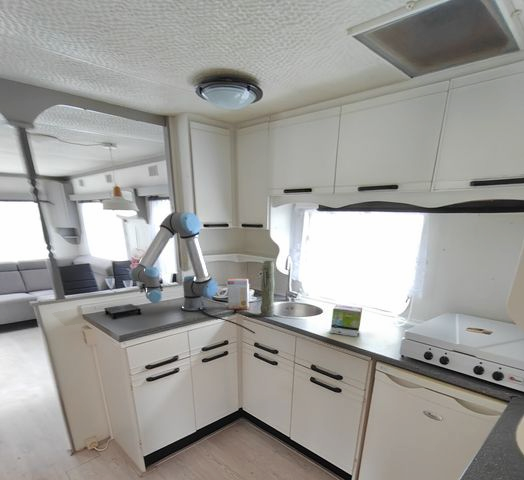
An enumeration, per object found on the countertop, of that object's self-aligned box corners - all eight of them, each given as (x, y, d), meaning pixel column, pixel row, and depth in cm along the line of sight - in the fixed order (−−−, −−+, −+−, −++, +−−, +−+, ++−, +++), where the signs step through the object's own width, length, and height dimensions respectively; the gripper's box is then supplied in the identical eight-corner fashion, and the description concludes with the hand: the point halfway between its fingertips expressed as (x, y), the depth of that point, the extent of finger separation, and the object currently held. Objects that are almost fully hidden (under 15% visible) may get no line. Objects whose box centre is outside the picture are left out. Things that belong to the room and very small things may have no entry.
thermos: (276, 313, 222) (277, 260, 208) (271, 317, 211) (272, 262, 198) (263, 312, 224) (264, 259, 211) (258, 316, 214) (258, 262, 200)
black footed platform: (141, 314, 215) (140, 308, 214) (113, 319, 204) (112, 313, 202) (132, 309, 226) (131, 303, 225) (105, 313, 215) (104, 307, 213)
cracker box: (248, 307, 234) (248, 278, 226) (247, 310, 228) (247, 280, 220) (229, 307, 235) (229, 278, 227) (228, 309, 230) (227, 279, 222)
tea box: (330, 333, 184) (332, 308, 178) (333, 328, 193) (335, 304, 187) (357, 337, 179) (360, 311, 174) (359, 331, 188) (362, 306, 182)
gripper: (136, 299, 193) (134, 291, 213) (169, 296, 200) (164, 289, 220) (134, 286, 190) (133, 279, 210) (168, 284, 197) (163, 278, 217)
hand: (149, 284), depth 215 cm, fingers closed on packet, 6 cm apart
